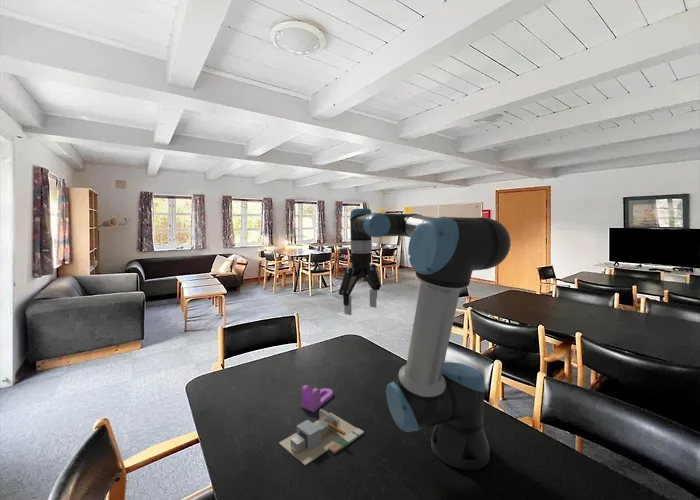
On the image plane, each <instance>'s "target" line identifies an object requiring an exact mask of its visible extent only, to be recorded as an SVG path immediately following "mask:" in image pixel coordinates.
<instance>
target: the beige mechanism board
mask: <svg viewBox="0 0 700 500" xmlns="http://www.w3.org/2000/svg"><path fill="white" fill-rule="evenodd" d="M329 413H330V414H331V415H333V416H335V417H336V418H338V419H340V429H341V430H342V431H344V432H345V435H344V436H343V435H342V434H340V435H338V436H337V435H335V434H333V433H332V432H330V433H329V434H327V435H326V436H324V437H323V438H321V428H319V427H318V426H316V424H317V423H319V419H317V420H316V421H314V422H312V421H310V420H309V419H306V420H304V421H302V422H301V423H299V424H297V425H296V432H295V433H293V434H291V435H289V436H288V437H287V438H284V439H283V440H281V441H279V442H278V444H279V446H281V447H282V448H284V450H286V451H287V452H288V453H289V454H291V455H292V456H293V457H294V458H295V459H297V461H299V462H300V463H301V464H302V465H304V467H305V466H307V465H309V464H310V463H311V462H313V461H314V460H315V459H317V458H319V457H320V456H322V455H323V454H325V453H326V452H327V451H329V452H330V453H332V454H334V455H335V454H337V453H338V452H339V451H341V450H343V449H344V448H345V447H347V446H348V445H350V444H351V443H352V442H354V441H356V439H358V438H359V437H361V436H362V435H364V433H365V431H364V430H362V429H361V428H359V427H355V426H354V425H352V424H350V423H349V422H347V420H344V419H342V418H341V417H339V416H337V415H336V414H334V413H333V412H329ZM300 433H304V434H305V435H306V436H307V448H305V449H304V450H302V451H301V452H299V453H296V452H295V451H293V450H292V449H291V440H290V439H292V438H294V437H295V436H297V435H299V434H300Z"/></svg>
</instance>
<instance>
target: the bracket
mask: <svg viewBox="0 0 700 500" xmlns="http://www.w3.org/2000/svg"><path fill="white" fill-rule="evenodd" d="M333 394H334V393H333V390H332V389H331V388H320V389H319V388H315V387H314V388H313V389H312V388H311V386H310V385H307V384H304V385H303V386H302V387H301V390H300V408H301V409H302V408H303V409H306V410H307V411H310V412H313V413H315V412H317V410H318V409H320V408H321V406H323V405H324V404H325V403H327V402H328V401H329V400H331V399H332V398H333V396H334V395H333Z"/></svg>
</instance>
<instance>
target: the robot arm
mask: <svg viewBox="0 0 700 500" xmlns="http://www.w3.org/2000/svg"><path fill="white" fill-rule="evenodd" d="M349 217H350V218H349V221H350V226H349V227H350V231H349V233H350V252H351V253H350V263H351V265H352V266H351V267H349V266H346V267H345V268H344V270H345V271H344V275H343V279H342V282H341V284H340V287H339V290H338V295H340V296H342V298H343V301H342V303H343V306H344V315H349V316H351V315H353V313H352V295H351V293H352V291H353V290H354V287H355V286H356V284H357V282H358V281H359V280H361V279H365V281H366V282H367V283H368V285H369V287H370V288H371V289H369V307H370V308H377V298H378V291H380V289H381V287H382V284H381V281H380V277H379V275H378V272H377V268H376V266H377V265H376V264H374V263H372V248H373V247H372V243H373V241H372V238H381V237H408V238H409V242H408V247H407V248H408V252H407V253H408V256H409V258H408V259H409V260H408V261H409V264H410V265H411V267H412V269H413V271H415V277H416V279H418V280H419V282H420V285H419V292H418V296H417V303H416V307H415V313H414V314H415V315H414V321H413V324H412V331H411V335H410V342H409V348H408V352H407V354H408V355H407V360H406V364H404V365H402V367H400V368H399V371H398V374H397V381H391V382H390V383H388V384H387V385H386V388H385V395H386V402H387V407H388V409H389V413H390V415H391V418H392V420H393V421H394V423H395V425H396V426H397V427H398V428H399V429H400V430H401V431H403V432H406V433H410V432H418V431H421V430H423V429H428V428H431V427H434V429H433V430H432V433H431V438H430V442H431V443H430V445H431V447H430V448H431V450H432V452H433V454H434V455H435V457H436V458H438V459H439V460H440V461H441V462H442V463H444V464H445V465H448V466H450V467H452V468H455V469H458V470H462V471H463V470H464V471H475V470H480V469H482V468H484V467H485V466H487V464H488V463H489V462H490V455H491V454H490V452H491V451H490V445H489V441H488V439H487V436H486V435H487V434H486V432H485V429H484V416H485V415H484V414H485V411H484V410H485V395H486V394H485V392H486V388H485V379H484V378H485V377H484V376H483V374H482V373H481V371H479V370H478V369H476V368H474V367H472V366H470V365H467V364H463V363H460V362H451V361H449V362H448V361H446V357H447V351H448V346H449V343H450V338H451V334H452V329H453V325H454V320H455V315H456V310H457V306H458V302H459V299H460V298H459V297H460V293H461V291H462V290H464V289H466V288H468V287H469V286H470V283H471V279H472V274H473V272H474V271H481V270H483V271H484V270H489V269H491V268H495V267H497V266H498V265H500V264H501V263H502V262H503V261H504V260H505V259H506V258H507V256H508V254H509V252H510V249H511V236H510V234H509V231H508V229H507V228H506V227H505V226H504V225H503V224H502V223H501V222H500V221H498V220H495V219H492V218H488V217H461V216H460V217H457V216H456V217H455V216H450V217H449V216H438V217H433V216H425V215H422V214H419V213H381V212H372V210H371V208H352V209H351V210H350V216H349ZM445 361H446V362H445Z"/></svg>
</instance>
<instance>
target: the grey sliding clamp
mask: <svg viewBox="0 0 700 500" xmlns="http://www.w3.org/2000/svg"><path fill="white" fill-rule="evenodd" d="M330 413H331V412H328V411H326V410H324V408H319V410H318V416H319V417H318V418H319V419H318V420H319V423H317V424H316V426H318V427H319V428H321V438H323V437H324V436H326V435H327V434H329V433H330V432H332V433H333V434H335V435H337V436H338V435H340V434H342V435H343V436H344V435H345V432H344V431H342V430H341V429H340V419H338V418H336V417H335V416H333V415H331V414H330ZM290 440H291V449H292V450H293V451H295V452H296V453H299V452H301V451H302V450H304V449H305V448H307V436H306V435H305V434H304V433H300V434H299V435H297V436H295V437H294V438H292V439H290Z"/></svg>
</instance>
